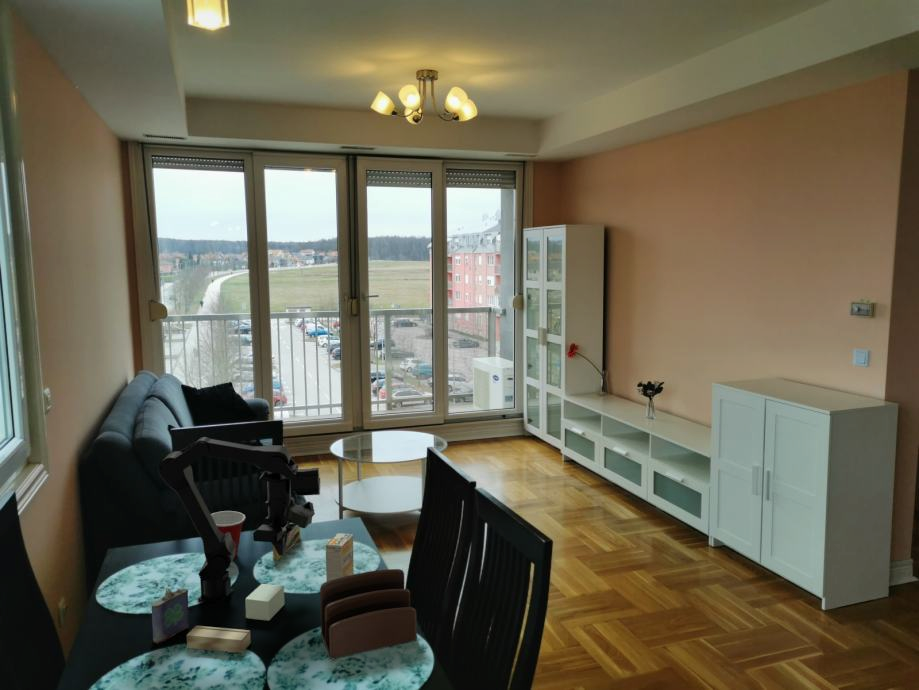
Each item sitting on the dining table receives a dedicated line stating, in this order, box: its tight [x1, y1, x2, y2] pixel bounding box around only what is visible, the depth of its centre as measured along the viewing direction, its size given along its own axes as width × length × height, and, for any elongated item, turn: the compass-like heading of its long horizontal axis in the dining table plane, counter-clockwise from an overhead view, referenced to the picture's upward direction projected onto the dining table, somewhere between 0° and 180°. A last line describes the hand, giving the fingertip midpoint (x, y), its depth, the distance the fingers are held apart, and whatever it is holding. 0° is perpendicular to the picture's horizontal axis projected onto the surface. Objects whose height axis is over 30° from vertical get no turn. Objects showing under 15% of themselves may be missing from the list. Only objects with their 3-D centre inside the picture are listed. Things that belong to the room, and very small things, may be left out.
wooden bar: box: [186, 625, 252, 654], centre depth 151 cm, size 13×4×3 cm, turn 81°
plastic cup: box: [210, 510, 246, 558], centre depth 197 cm, size 11×11×12 cm
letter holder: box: [319, 568, 418, 660], centre depth 153 cm, size 10×20×14 cm, turn 112°
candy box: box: [272, 523, 301, 560], centre depth 202 cm, size 16×2×8 cm, turn 171°
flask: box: [150, 587, 190, 644], centre depth 155 cm, size 9×3×11 cm, turn 151°
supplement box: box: [325, 532, 355, 582], centre depth 178 cm, size 8×5×13 cm, turn 168°
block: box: [244, 583, 285, 622], centre depth 166 cm, size 6×8×5 cm
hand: (281, 554), depth 175 cm, fingers closed
